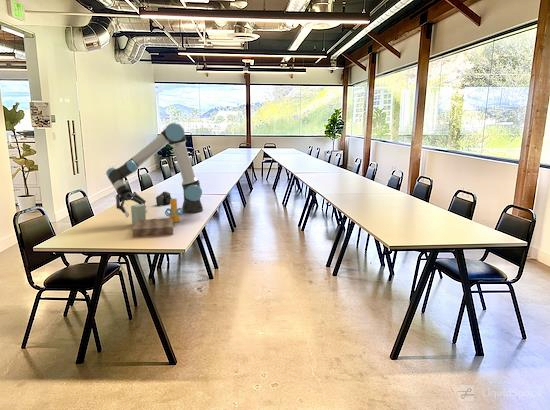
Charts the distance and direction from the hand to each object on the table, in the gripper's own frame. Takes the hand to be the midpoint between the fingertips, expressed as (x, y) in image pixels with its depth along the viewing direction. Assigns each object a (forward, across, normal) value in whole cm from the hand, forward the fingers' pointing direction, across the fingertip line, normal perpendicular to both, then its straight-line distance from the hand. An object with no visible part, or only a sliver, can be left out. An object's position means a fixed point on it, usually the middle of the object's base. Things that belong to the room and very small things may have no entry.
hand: (137, 214), depth 244 cm
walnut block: (+20, +4, +10) cm, 23 cm away
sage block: (+5, -1, -4) cm, 6 cm away
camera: (-22, -51, -31) cm, 64 cm away
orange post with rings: (+14, -18, +5) cm, 24 cm away
